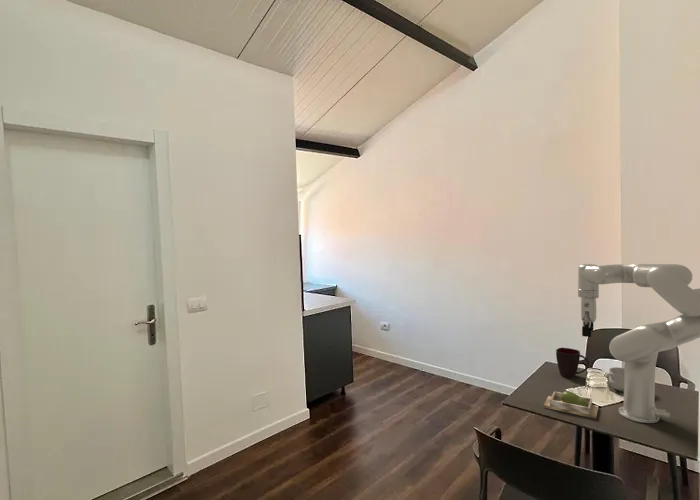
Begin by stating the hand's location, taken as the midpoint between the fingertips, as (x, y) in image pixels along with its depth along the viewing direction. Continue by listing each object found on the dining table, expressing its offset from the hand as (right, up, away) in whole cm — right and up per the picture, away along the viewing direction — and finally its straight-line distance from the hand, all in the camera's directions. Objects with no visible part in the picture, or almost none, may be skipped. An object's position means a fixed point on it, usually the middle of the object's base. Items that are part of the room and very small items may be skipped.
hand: (587, 333), depth 175 cm
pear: (-12, -27, -12) cm, 31 cm away
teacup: (+18, -26, +7) cm, 32 cm away
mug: (+5, -25, +23) cm, 34 cm away
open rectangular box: (-13, -27, -11) cm, 32 cm away
